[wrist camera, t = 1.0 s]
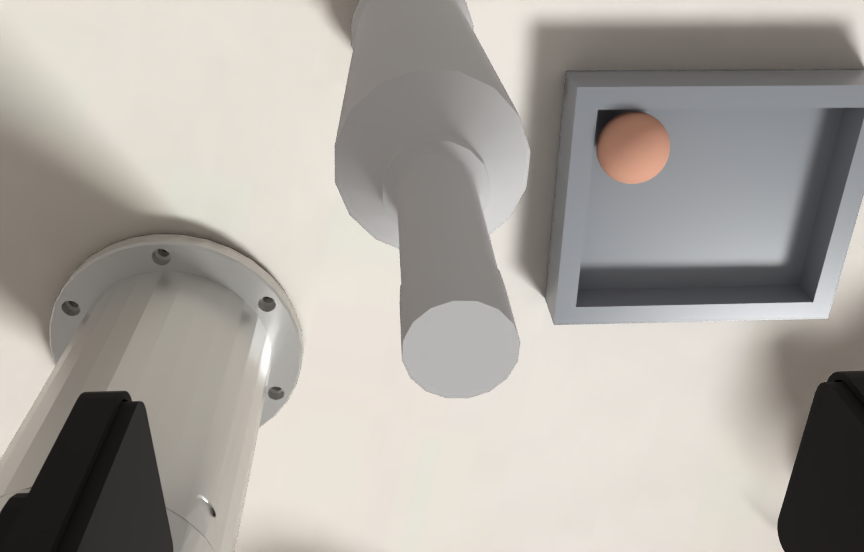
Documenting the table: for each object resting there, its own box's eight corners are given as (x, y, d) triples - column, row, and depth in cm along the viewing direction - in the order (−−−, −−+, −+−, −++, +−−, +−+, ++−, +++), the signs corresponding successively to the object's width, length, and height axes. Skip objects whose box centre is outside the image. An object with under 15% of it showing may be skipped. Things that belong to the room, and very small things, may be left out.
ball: (652, 167, 39) (674, 194, 36) (585, 168, 39) (601, 195, 36) (662, 101, 37) (685, 124, 35) (593, 102, 37) (610, 125, 34)
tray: (805, 293, 44) (827, 318, 42) (545, 299, 43) (554, 324, 41) (865, 69, 38) (895, 84, 36) (565, 71, 37) (577, 87, 35)
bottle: (476, 75, 37) (616, 443, 15) (363, 93, 37) (342, 484, 15) (462, -46, 35) (604, 190, 13) (340, -26, 35) (276, 241, 13)
